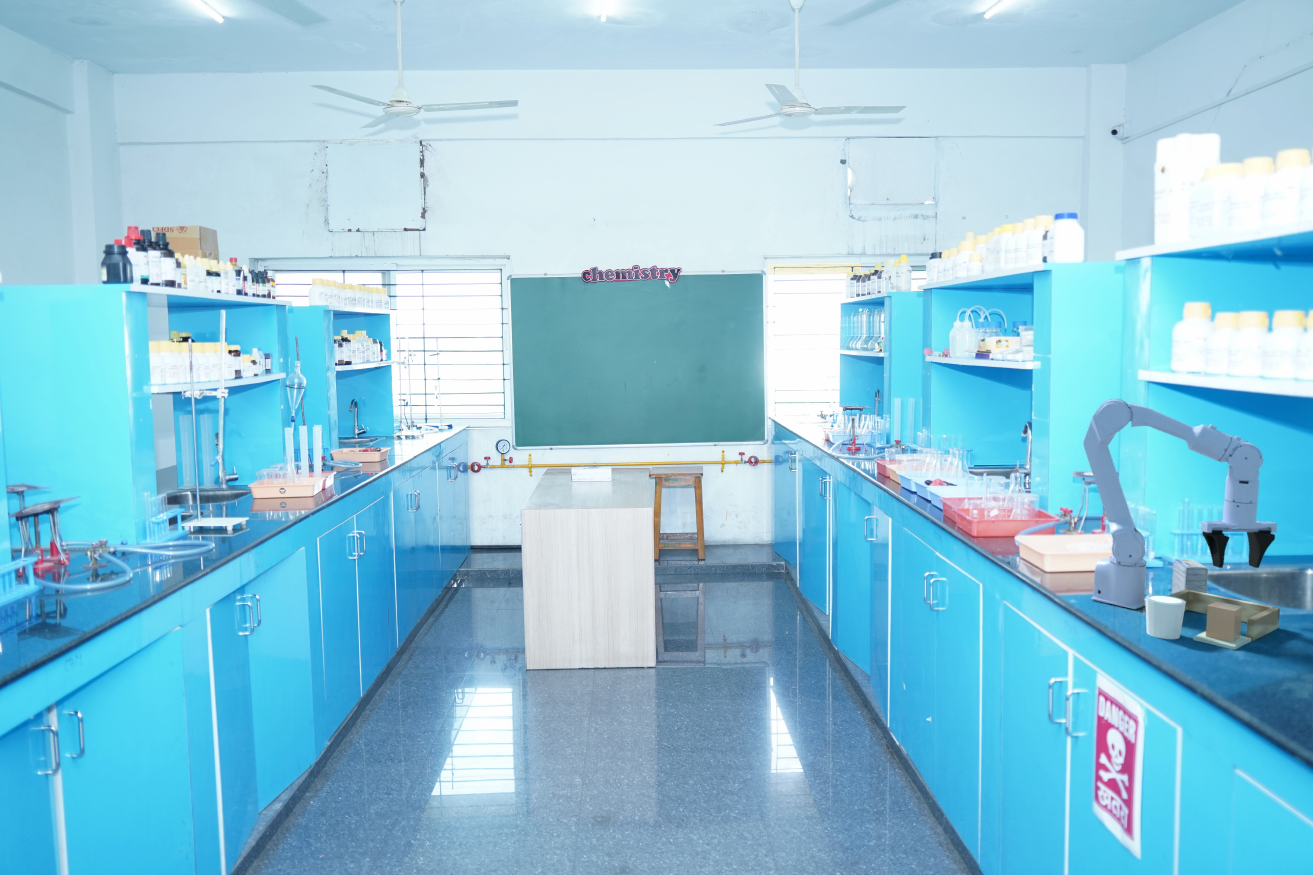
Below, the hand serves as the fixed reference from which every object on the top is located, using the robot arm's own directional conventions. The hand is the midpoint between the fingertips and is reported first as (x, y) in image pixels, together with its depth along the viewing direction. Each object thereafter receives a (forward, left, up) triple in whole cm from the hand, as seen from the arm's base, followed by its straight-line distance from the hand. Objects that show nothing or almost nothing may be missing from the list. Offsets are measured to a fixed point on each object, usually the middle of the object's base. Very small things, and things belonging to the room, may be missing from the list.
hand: (1235, 566), depth 187 cm
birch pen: (0, -8, -10) cm, 13 cm away
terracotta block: (+5, -19, -10) cm, 22 cm away
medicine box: (-10, +4, -11) cm, 15 cm away
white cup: (-3, -24, -11) cm, 27 cm away
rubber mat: (+5, -19, -10) cm, 22 cm away
